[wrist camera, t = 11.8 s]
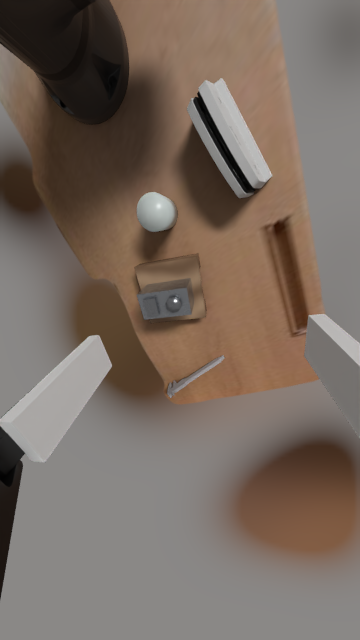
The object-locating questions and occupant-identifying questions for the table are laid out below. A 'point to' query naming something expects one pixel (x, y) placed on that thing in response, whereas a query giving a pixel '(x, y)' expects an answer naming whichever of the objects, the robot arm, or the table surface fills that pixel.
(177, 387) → the caliper
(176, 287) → the housing
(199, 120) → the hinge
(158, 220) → the pale grey pebble
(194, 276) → the stand
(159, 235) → the table surface
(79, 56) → the robot arm
